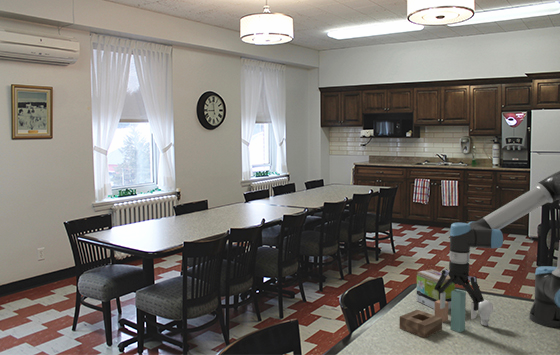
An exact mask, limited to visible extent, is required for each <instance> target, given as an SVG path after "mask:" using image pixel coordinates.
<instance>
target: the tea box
mask: <svg viewBox="0 0 560 355" xmlns="http://www.w3.org/2000/svg"><path fill="white" fill-rule="evenodd" d="M441 275H442V271H438V270H436V269H432V268H431V269H427V270H421V271H416V302H419V303H421V304H423V305H425V306H426V307H430V308H431V309H434V310H435V301H437V300H439V292H438V291H437V290H435V289H434V288H435V286H436V284H437V282H438V280H439V279H440V277H441ZM449 279H450V277H449V275H447V277H446V279H445V280H444V282H443V284H442V286H443V285H444V284H445V283H446V282H447V281H448V280H449ZM442 286H441V287H442ZM441 287H440V288H441ZM453 290H456V284H454V283H452V284H451V285H450V286H449V287H447V288H446V289H445V290H444V291H443V292H446V296H445V301H447V302H448V310H451V291H453Z"/></svg>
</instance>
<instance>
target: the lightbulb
mask: <svg viewBox="0 0 560 355" xmlns="http://www.w3.org/2000/svg"><path fill="white" fill-rule="evenodd" d="M493 311H494V304H493V303H492V302H491V301H490V300H489V299H485V298H484V301H483V302H480V303H479V309H478V310H477V312H478V314H479V316H480V325H482V326H483V327H487V326H489V320H490V319H489V318H490V316H491V315H492V314H493Z"/></svg>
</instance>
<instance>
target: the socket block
mask: <svg viewBox="0 0 560 355" xmlns="http://www.w3.org/2000/svg"><path fill="white" fill-rule="evenodd" d="M399 329H401V330H403V331H405V332H408V333H411V334H413V335H416V336H418V337H421V338H424V339H425V338H428V337H430V336H432V335H434V334H437V333H438V332H441V331H442V330H443V322H442V318H441V317H438V316H435V314H432V313H428V312H425V311H423V310H420V309H415V310H412V311H411V312H407V313H405V314H403V315H400V316H399Z"/></svg>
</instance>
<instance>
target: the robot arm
mask: <svg viewBox="0 0 560 355" xmlns="http://www.w3.org/2000/svg"><path fill="white" fill-rule="evenodd" d="M556 201H558V205H559V206H560V170H559V171H556V172H555V173H552V174H551V175H548V176H547V177H545V178H543V179H542V180H540V181H539V182H537V183H536V184H535V186H534V187H533V188H531V189H530V190H528V191H526V192H524V193H523V194H521V195H520V196H518V197H517V198H514V199H513V200H511V201H510V202H508V203H506V204H504V205H502V206H501V207H499V208H498V209H496V210H494V211H492V212H491V213H489V214H487V215H486V216H483V217H482V218H479V219H478V220H476V221H474V220H473V221H469V222H468V223H466V222H453V223H451V225H450V232H449V260H450V261H449V265H448V269H449V270H448V269H447V268H445V269H443V270H441V273H442V275H441V277H440V279H439V280H438V282H437V284H436V286H435V288H434V289H435V290H437V291H438V292H439V300H440V309H443V308H445V296H446V292H443V291H444V290H445V289H446V288H447V287H449V286H450V285H451V284H452V283H454V284H455V285H459V286H462V287H463V288H464V289H465V291H466V293H467V294H468V295H469V297H470V299H471V300H472V301H471V302H470V303H471V306H470V318H471V320H474V319H475V318H477V312H478V309H479V303H480V302H483V301H484V299H485V298H484V296H483V294H482V292H481V288H480V286H479V283H478V280H477V276H470V274H469V273H470V263H469V262H470V260H471V259H470V255H471V254H470V251H471V248H477V249H478V248H479V249H492V250H493V249H500V248H501V247H502V246H503V244H504V236H503V235H504V234H503V232H502V231H501V229H503V228H505V227H506V226H508V225H510V224H512V223H514V222H516V221H517V220H519V219H520V218H522V217H524V216H526V215H527V214H529V213H532V212H533V211H534V210H536V209H538V208H540V207H541V206H543V205H545V204H547V203H550V204H553V203H554V202H556ZM557 252H558V253H557V254H558V255H557V263H556V266H548V265H547V266H545V265H543V266H538V267H536V269H535V273H534V275H535V276H534V277H535V278H534V300H533V303H532V305H531V308H530V310H529V313H528V318H529V319H530V321H532V322H534V323H536V324H538V325H541V326H545V327H550V328H560V241H559V245H558V251H557ZM447 275H449V277H450V279H449V280H448V281H447V282H446V283H445V284H444V285H443V286H442V284H443V282H444V280H445V279H446V277H447ZM441 286H442V287H441ZM440 287H441V288H440Z"/></svg>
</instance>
